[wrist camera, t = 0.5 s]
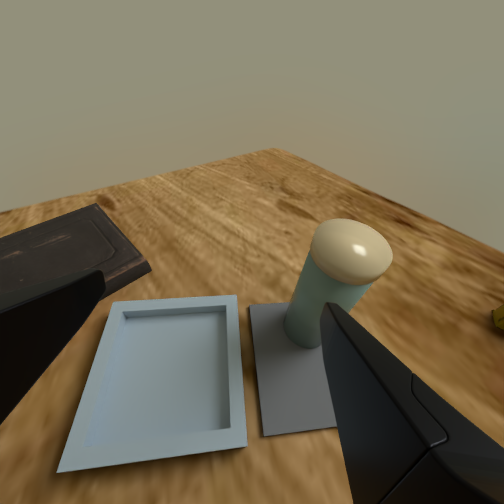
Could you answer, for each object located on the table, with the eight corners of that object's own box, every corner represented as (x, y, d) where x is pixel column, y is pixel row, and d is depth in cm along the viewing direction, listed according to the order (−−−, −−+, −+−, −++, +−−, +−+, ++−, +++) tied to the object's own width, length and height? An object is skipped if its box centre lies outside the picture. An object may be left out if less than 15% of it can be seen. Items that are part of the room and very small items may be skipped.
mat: (374, 421, 20) (376, 420, 20) (263, 436, 19) (264, 436, 19) (329, 301, 28) (330, 299, 28) (249, 306, 27) (249, 304, 26)
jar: (335, 347, 24) (408, 271, 14) (287, 351, 23) (328, 276, 13) (320, 303, 27) (370, 217, 17) (278, 306, 27) (305, 219, 17)
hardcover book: (-115, 300, 25) (-140, 288, 23) (102, 214, 37) (96, 202, 35) (-114, 430, 18) (-151, 427, 16) (153, 273, 30) (148, 262, 28)
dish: (246, 446, 18) (247, 446, 17) (71, 471, 17) (56, 473, 15) (236, 303, 27) (236, 294, 25) (120, 310, 25) (113, 301, 24)
